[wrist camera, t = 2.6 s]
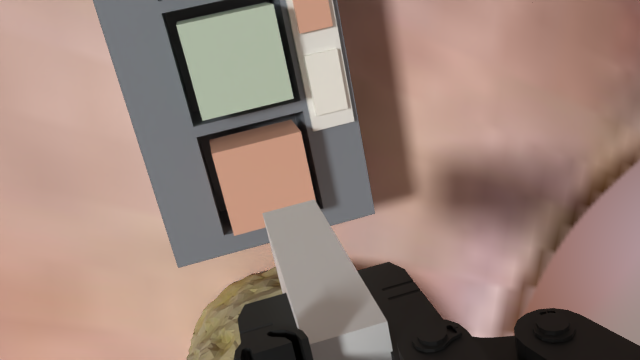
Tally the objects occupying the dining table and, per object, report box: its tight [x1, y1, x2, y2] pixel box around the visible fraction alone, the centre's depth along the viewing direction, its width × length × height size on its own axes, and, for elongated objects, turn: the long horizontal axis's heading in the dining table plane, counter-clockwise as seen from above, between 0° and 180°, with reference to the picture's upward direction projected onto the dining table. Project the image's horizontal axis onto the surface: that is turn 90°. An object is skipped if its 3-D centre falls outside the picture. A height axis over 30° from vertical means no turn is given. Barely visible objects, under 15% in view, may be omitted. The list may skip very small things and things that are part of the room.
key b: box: [176, 2, 294, 121], centre depth 21 cm, size 3×3×2 cm
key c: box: [209, 120, 316, 236], centre depth 22 cm, size 3×3×2 cm
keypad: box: [93, 0, 375, 268], centre depth 22 cm, size 14×8×4 cm, turn 11°
